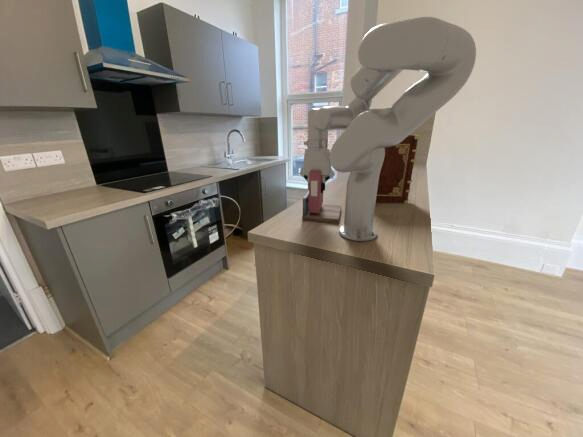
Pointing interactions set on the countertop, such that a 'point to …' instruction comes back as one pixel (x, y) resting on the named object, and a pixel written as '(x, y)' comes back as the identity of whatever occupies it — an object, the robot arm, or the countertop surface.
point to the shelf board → (324, 215)
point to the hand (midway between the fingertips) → (316, 191)
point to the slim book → (315, 191)
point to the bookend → (306, 203)
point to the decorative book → (397, 171)
